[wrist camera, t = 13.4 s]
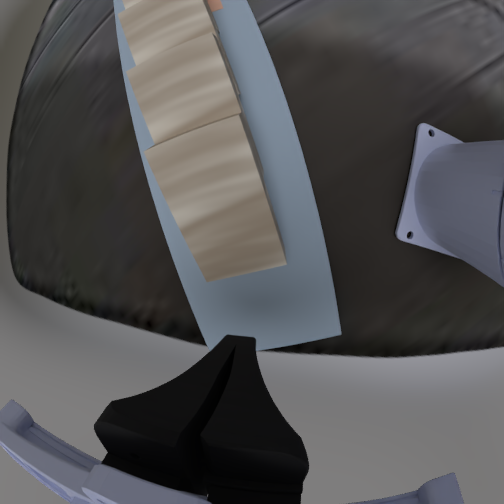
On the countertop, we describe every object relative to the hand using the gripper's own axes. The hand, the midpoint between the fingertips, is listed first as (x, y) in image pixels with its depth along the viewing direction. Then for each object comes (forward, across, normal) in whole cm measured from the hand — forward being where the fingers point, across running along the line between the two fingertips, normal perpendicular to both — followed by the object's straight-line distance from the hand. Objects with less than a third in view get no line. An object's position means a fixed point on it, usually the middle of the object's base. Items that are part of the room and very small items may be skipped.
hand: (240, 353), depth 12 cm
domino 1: (+6, +4, -12) cm, 14 cm away
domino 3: (+6, +1, -2) cm, 6 cm away
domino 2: (+6, +2, -7) cm, 9 cm away
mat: (+7, +3, -11) cm, 13 cm away
